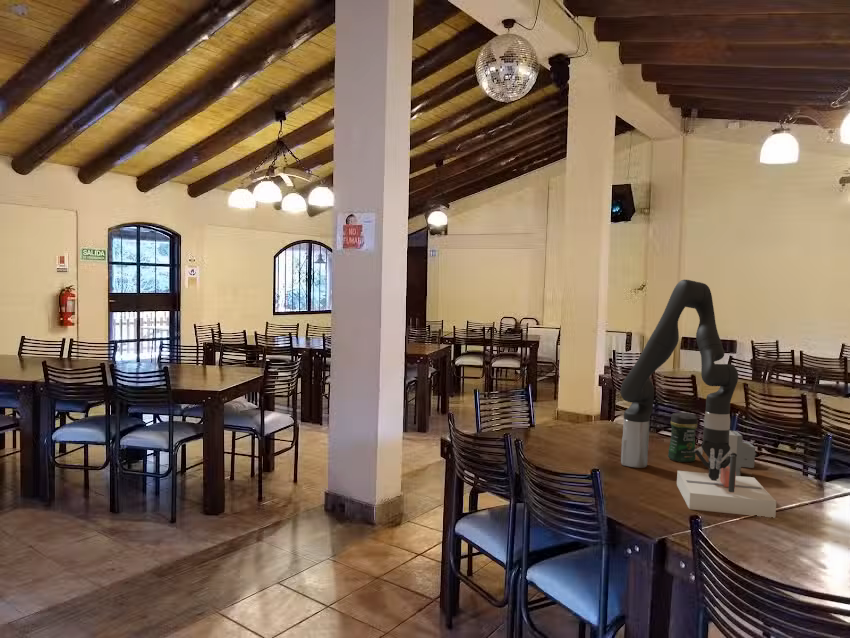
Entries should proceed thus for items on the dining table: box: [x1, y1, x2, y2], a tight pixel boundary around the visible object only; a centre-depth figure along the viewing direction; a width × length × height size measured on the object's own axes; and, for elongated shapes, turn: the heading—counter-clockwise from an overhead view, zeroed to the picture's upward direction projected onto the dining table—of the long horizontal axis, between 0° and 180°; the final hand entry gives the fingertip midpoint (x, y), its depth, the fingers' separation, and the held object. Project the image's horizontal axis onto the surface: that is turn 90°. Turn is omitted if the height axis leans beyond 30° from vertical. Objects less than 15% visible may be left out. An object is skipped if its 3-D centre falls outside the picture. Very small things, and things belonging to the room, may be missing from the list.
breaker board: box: [676, 470, 777, 519], centre depth 203 cm, size 24×24×5 cm
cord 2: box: [728, 455, 736, 492], centre depth 193 cm, size 2×2×11 cm
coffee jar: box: [667, 412, 698, 463], centre depth 249 cm, size 10×8×19 cm
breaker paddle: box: [720, 466, 736, 488], centre depth 203 cm, size 3×6×5 cm, turn 167°
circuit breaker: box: [714, 430, 759, 476], centre depth 233 cm, size 8×14×15 cm, turn 78°
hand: (713, 479), depth 204 cm, fingers closed
